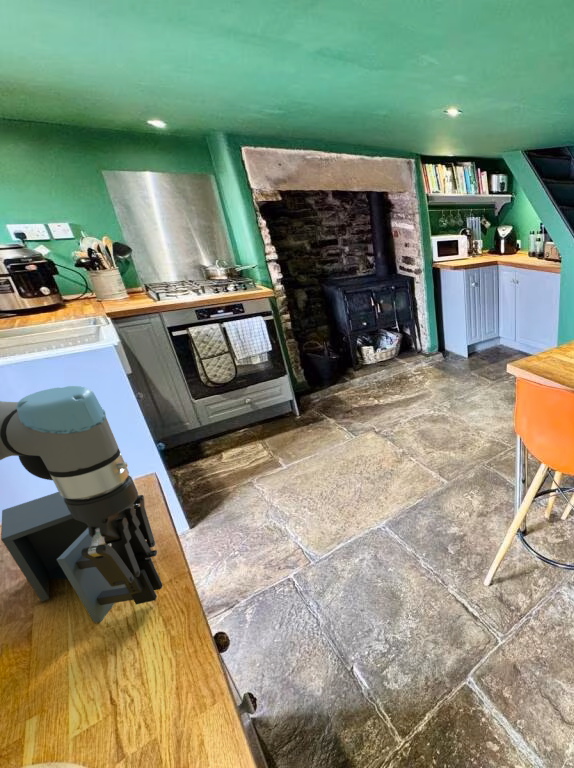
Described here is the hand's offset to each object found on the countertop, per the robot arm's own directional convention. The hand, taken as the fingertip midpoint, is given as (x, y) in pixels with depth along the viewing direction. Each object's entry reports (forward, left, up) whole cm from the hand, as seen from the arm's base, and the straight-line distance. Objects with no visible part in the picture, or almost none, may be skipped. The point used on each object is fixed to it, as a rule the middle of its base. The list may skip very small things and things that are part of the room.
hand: (149, 594), depth 70 cm
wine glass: (-38, +25, -4) cm, 46 cm away
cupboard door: (-5, +4, -3) cm, 7 cm away
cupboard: (-19, +8, -3) cm, 21 cm away
